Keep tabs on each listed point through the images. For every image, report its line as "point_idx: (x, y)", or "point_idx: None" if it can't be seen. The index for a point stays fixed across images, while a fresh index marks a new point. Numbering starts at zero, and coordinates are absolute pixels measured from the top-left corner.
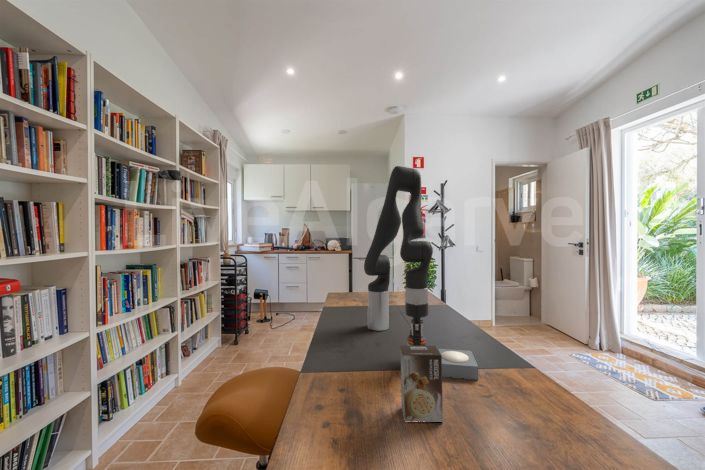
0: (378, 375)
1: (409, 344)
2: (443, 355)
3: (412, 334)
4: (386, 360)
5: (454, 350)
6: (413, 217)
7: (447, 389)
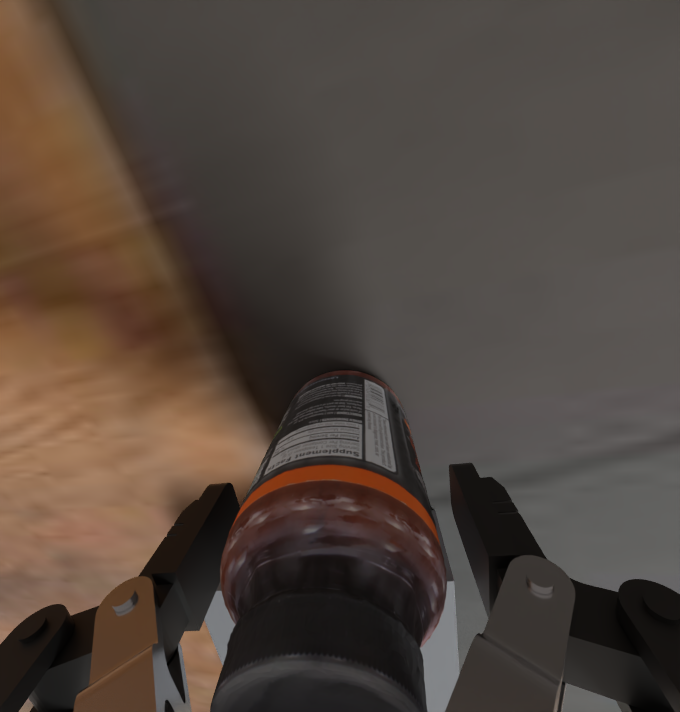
0: (66, 209)
1: (254, 482)
2: None
3: (83, 692)
4: (328, 199)
5: (446, 678)
6: None
7: (129, 560)
